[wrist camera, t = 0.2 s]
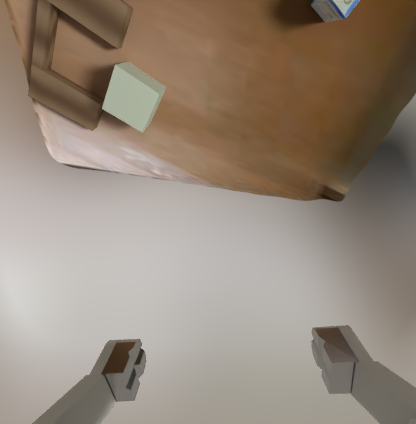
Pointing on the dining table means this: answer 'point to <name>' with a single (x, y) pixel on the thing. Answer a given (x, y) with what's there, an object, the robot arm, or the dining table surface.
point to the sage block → (133, 96)
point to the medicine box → (333, 8)
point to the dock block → (44, 45)
